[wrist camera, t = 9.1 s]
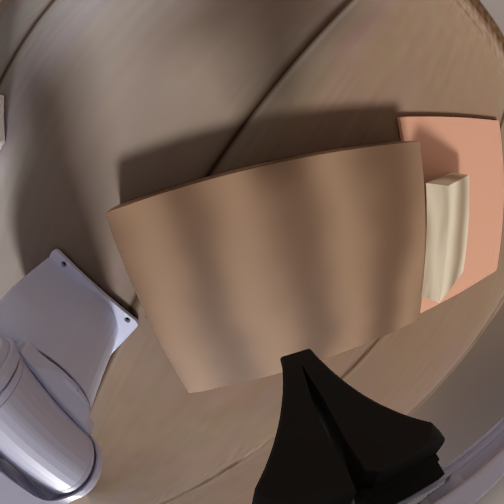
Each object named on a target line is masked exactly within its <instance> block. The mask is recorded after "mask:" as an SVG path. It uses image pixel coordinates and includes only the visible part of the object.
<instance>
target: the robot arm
mask: <svg viewBox="0 0 504 504" xmlns="http://www.w3.org/2000/svg"><path fill="white" fill-rule="evenodd" d="M63 261H64V262H65V263H66V265H64V262H63ZM126 317H128V318H129V319H130V320H127V319H126ZM137 326H138V319H137V318H135V317H134V316H133V315H132V314H130V313H129V312H128V311H127V310H125V309H124V308H123V307H122V306H121V305H119V304H118V303H117V302H116V301H114V300H113V299H112V298H111V297H110V296H109V295H107V294H106V293H105V292H104V291H103V290H102V289H100V288H99V287H98V286H97V285H96V284H95V283H94V282H93V281H92V280H90V279H89V278H88V277H87V276H86V275H85V274H84V273H83V272H82V271H81V270H80V269H79V268H77V267H76V266H75V265H74V264H73V263H72V262H71V261H70V260H69V259H68V258H67V257H66V256H65V255H64V254H63V253H62V252H61V251H60V250H59V249H54V250H53V251H52V252H51V254H50V256H49V257H48V258H47V259H46V260H44V261H43V262H42V263H41V264H39V265H38V266H37V267H36V268H34V269H33V270H32V271H31V272H30V273H28V274H27V275H26V276H25V277H24V278H22V279H21V280H20V281H19V282H18V283H16V284H15V285H14V286H13V287H12V288H11V289H10V290H9V291H8V292H7V293H6V295H5V296H4V297H3V298H2V300H1V301H0V504H68V503H70V502H71V501H73V500H76V499H78V498H80V497H83V496H84V495H86V494H87V493H88V492H89V491H90V490H91V489H92V488H93V487H94V486H95V484H96V483H97V481H98V479H99V477H100V474H101V470H102V460H103V459H102V453H101V449H100V447H99V445H98V443H97V442H96V440H95V439H94V438H93V437H92V436H91V433H92V429H93V426H94V422H93V420H92V419H91V418H90V410H91V407H92V404H93V401H94V398H95V395H96V392H97V390H98V387H99V384H100V381H101V379H102V376H103V373H104V371H105V368H106V365H107V363H108V360H109V358H110V355H111V354H112V353H113V352H114V351H115V350H116V349H117V347H118V346H119V345H120V344H121V343H122V342H123V341H124V340H125V339H126V338H127V337H128V336H129V335H130V334H131V333H132V332H133V331H134V330H135V328H136V327H137ZM280 361H281V365H282V371H283V397H282V406H281V414H280V420H279V425H278V429H277V433H276V437H275V441H274V444H273V448H272V451H271V453H270V456H269V459H268V461H267V464H266V467H265V469H264V471H263V473H262V476H261V478H260V480H259V482H258V484H257V486H256V488H255V492H254V496H253V501H252V504H407V503H409V502H411V501H412V500H414V499H416V498H418V497H420V496H421V495H423V494H425V493H426V492H428V491H429V490H431V489H433V488H434V487H436V486H437V485H439V484H440V483H442V482H443V481H445V480H446V481H445V484H443V485H442V486H440V487H439V488H438V489H436V490H435V491H433V492H432V493H430V494H429V495H427V497H426V498H425V499H423V500H422V501H420V502H419V503H417V504H474V503H475V502H476V501H478V500H479V499H480V498H481V497H482V496H483V495H484V494H485V493H486V492H488V491H489V490H490V489H491V488H492V487H493V486H494V485H495V484H496V483H497V482H498V481H499V480H500V479H501V478H502V477H503V476H504V417H503V418H502V419H501V420H500V421H499V422H498V423H497V424H496V425H495V426H493V428H491V429H490V430H489V431H488V432H487V433H486V434H485V435H483V436H482V437H481V438H480V439H479V440H478V441H476V442H475V443H474V444H473V445H471V446H470V447H469V448H468V449H467V450H465V451H464V452H463V453H461V454H460V455H459V456H458V457H456V458H455V459H453V460H452V461H450V462H449V463H447V464H446V465H445V466H443V467H442V468H441V467H440V465H439V464H438V461H439V458H438V456H437V455H436V453H437V451H438V450H439V449H440V447H441V446H442V445H443V443H444V440H445V438H444V436H443V435H442V434H441V432H440V431H439V430H438V429H437V428H436V427H435V426H434V425H433V424H432V423H431V422H426V421H423V420H419V419H415V418H412V417H409V416H406V415H404V414H401V413H398V412H396V411H394V410H391V409H389V408H387V407H385V406H382V405H380V404H378V403H377V402H375V401H373V400H371V399H369V398H368V397H366V396H364V395H363V394H361V393H360V392H358V391H357V390H355V389H354V388H352V387H351V386H350V385H348V384H347V383H346V382H344V381H343V380H342V379H341V378H339V377H338V376H337V375H336V374H335V373H334V372H332V371H331V370H330V369H329V368H328V367H327V366H326V365H325V364H324V363H323V362H322V361H321V360H320V359H319V358H318V357H317V356H316V355H315V354H314V352H313V351H312V350H311V349H306V350H303V351H299V352H296V353H293V354H289V355H286V356H283V357H281V359H280Z"/></svg>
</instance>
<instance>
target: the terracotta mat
mask: <svg viewBox="0 0 504 504" xmlns="http://www.w3.org/2000/svg"><path fill="white" fill-rule="evenodd" d="M397 121H398V127H399V132H400V138H401V141H419V142H420V149H421V157H422V166H423V177H424V191H425V213H426V231H427V197H426V183H427V182H430V181H432V180H435V179H437V178H439V177H442V176H444V175H447V174H449V173H460V174H468V175H469V223H468V237H467V247H466V256H465V263H464V270H463V272H462V274H461V275H460V277H459V278H458V279H457V281H456V282H455V283H454V285H453V286H452V288H451V289H450V290H449V291H448V293H447V294H446V295H445V297H444V298H443V299H442V300H441V302H443V301H445V300H447V299H449V298H451V297H453V296H454V295H456V294H458V293H460V292H461V291H463V290H465V289H467V288H468V287H470V286H472V285H473V284H475V283H477V282H478V281H480V280H482V279H483V278H485V277H486V276H488V275H490V274H491V273H493V272H494V271H496V270H497V264H498V257H499V250H500V243H501V233H502V222H503V202H504V173H503V154H502V143H501V134H500V126H499V121H497V120H487V119H476V118H461V117H397ZM425 253H426V246H425ZM441 302H440V303H441ZM440 303H438V302H435V301H433V300H430V299H427V298H425V297H422V302H421V310H420V313H422V312H424V311H426V310H428V309H430V308H432V307H434V306H436V305H438V304H440Z"/></svg>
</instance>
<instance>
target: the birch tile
mask: <svg viewBox="0 0 504 504" xmlns="http://www.w3.org/2000/svg"><path fill="white" fill-rule="evenodd" d="M426 197H427V231H426V253H425V266H424V277H423V286H422V294H421V296H422V297H425V298H427V299H430V300H433V301H435V302H438V303H440V302H441V300H442V299H443V298H444V297H445V295H446V294H447V293H448V291H449V290H450V289H451V288H452V286H453V285H454V283H455V282H456V281H457V279H458V278H459V277H460V275H461V274H462V272H463V270H464V263H465V256H466V247H467V237H468V223H469V175H468V174H460V173H449V174H447V175H444V176H442V177H439V178H437V179H435V180H432V181H430V182H427V183H426Z"/></svg>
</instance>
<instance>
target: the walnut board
mask: <svg viewBox="0 0 504 504" xmlns="http://www.w3.org/2000/svg"><path fill="white" fill-rule="evenodd" d="M105 214H106V217H107V220H108V223H109V226H110V229H111V231H112V234H113V237H114V240H115V243H116V245H117V248H118V250H119V253H120V256H121V258H122V261H123V263H124V266H125V268H126V271H127V273H128V275H129V278H130V280H131V283H132V285H133V287H134V289H135V292H136V294H137V296H138V298H139V301H140V303H141V305H142V307H143V309H144V311H145V313H146V315H147V318H148V320H149V322H150V324H151V326H152V328H153V330H154V332H155V334H156V336H157V338H158V339H159V341H160V343H161V345H162V347H163V349H164V351H165V353H166V355H167V356H168V358H169V360H170V362H171V364H172V365H173V367H174V369H175V371H176V372H177V374H178V376H179V377H180V379H181V381H182V383H183V384H184V386H185V387H186V389H187V391H188V392H189V393H194V392H200V391H205V390H210V389H215V388H220V387H225V386H230V385H234V384H239V383H243V382H247V381H251V380H255V379H259V378H263V377H267V376H270V375H274V374H278V373H281V372H283V371H282V365H281V361H280V359H281V357H283V356H286V355H289V354H293V353H296V352H299V351H303V350H306V349H311V350H312V351H313V352H314V354H315V355H316V356H317V357H318V358H319V359H320V360H323V359H325V358H328V357H331V356H334V355H337V354H339V353H342V352H345V351H348V350H350V349H353V348H355V347H358V346H360V345H363V344H365V343H368V342H370V341H373V340H375V339H377V338H380V337H382V336H384V335H387V334H389V333H391V332H393V331H396V330H398V329H400V328H402V327H404V326H406V325H409V324H411V323H413V322H415V321H417V320H419V317H420V310H421V302H422V296H421V294H422V286H423V277H424V266H425V246H426V213H425V191H424V177H423V166H422V157H421V149H420V142H419V141H390V142H381V143H373V144H365V145H358V146H351V147H344V148H337V149H331V150H325V151H319V152H314V153H308V154H303V155H298V156H292V157H287V158H283V159H278V160H273V161H269V162H264V163H260V164H255V165H251V166H247V167H243V168H238V169H234V170H230V171H227V172H223V173H219V174H215V175H211V176H208V177H204V178H200V179H197V180H193V181H190V182H187V183H183V184H180V185H176V186H173V187H170V188H167V189H164V190H160V191H157V192H154V193H151V194H148V195H145V196H142V197H139V198H136V199H133V200H130V201H128V202H125V203H122V204H120V205H118V206H116V207H114V208H113V209H111V210H109V211H108V212H106V213H105Z"/></svg>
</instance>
